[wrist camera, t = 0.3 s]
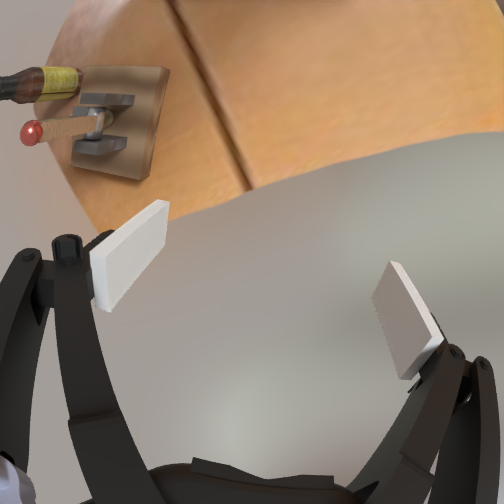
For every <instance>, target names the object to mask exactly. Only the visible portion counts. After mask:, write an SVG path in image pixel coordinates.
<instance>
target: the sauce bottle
mask: <svg viewBox="0 0 504 504" xmlns="http://www.w3.org/2000/svg"><path fill="white" fill-rule="evenodd" d="M82 79H83V74H82V72H81V71H80V70H79V69H76V68H72V67H31V68H28V69H26V70H23V71H21V72H19V73H16V74H14V75H11V76H5V77H0V100H9V99H11V100H12V101H14V102H16V103H18V104H25V103H34V102H42V101H49V100H59V99H67V98H71V97H73V96H75V95H76V94H77V93H78V92H79V91H80V89H81V84H82Z"/></svg>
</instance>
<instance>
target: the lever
mask: <svg viewBox="0 0 504 504" xmlns="http://www.w3.org/2000/svg"><path fill="white" fill-rule="evenodd" d="M106 108H107V107H84V106H80V107H74V108H73V114H72V116H68V117H60V118H52V119H46V120H39V121H37V120H30V121H28V122H27V123H25V124H24V126H23V127H22V129H21V132H20V139H21V141H22V143H23V144H24V145H26V146H33V145H36V144H37V143H42V142H46V141H50V140H55V139H59V138H64V137H69V136H73V135H79V134H84V135H83V138H84V139H101V138H102V134H103V127H104V120H105V114H106Z"/></svg>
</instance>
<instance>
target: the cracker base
mask: <svg viewBox="0 0 504 504" xmlns="http://www.w3.org/2000/svg"><path fill="white" fill-rule="evenodd" d="M169 73H170V70H169V69H166V68H163V67H157V66H133V65H107V66H85V70H84V74H83V79H82V84H81V89H80V94H79V100H78V106H77V107H80V106H84V107H107V108H106V114H105V120H104V127H103V134H102V138H101V139H84V138H83V135H84V134H79V135H74V137H73V147H72V161H71V166H74V167H79V168H85V169H90V170H95V171H100V172H104V173H109V174H114V175H119V176H123V177H128V178H133V179H137V180H141V179H143V178H145V177H147V176H150V169H151V162H152V155H153V149H154V143H155V138H156V132H157V127H158V122H159V117H160V112H161V107H162V102H163V98H164V94H165V89H166V85H167V81H168V77H169Z"/></svg>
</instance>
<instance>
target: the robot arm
mask: <svg viewBox="0 0 504 504" xmlns="http://www.w3.org/2000/svg"><path fill="white" fill-rule="evenodd" d="M169 203H170V202H167V201H163V200H159V199H157V200H156V201H154V202H153V203H152V204H150V205H149V206H147V207H146V208H145V209H143V210H142V211H141V212H139V213H138V214H137V215H135V216H134V217H133V218H131V219H130V220H129V221H127V222H126V223H125V224H123V225H122V226H121V227H120V228H118V229H117V230H116V231H115V230H108V231H105V232H103V233H101V234H100V235H99V236H97V237H96V238H95V239H93V240H92V241H91V242H90V243H88V244H87V245H86V246H85V247H83V245H82V239H81V237H79V236H78V235H74V234H65V235H61V236H58V237H56V238H55V239H54V240H53V241H52V251H53V258H54V261H50V260H42V256H41V252H40V250H38V249H35V248H26V249H23V250H22V251H20V252H18V253H17V255H16V256H15V258H14V259H13V261H12V263H11V264H10V266H9V268H8V270H7V272H6V273H5V275H4V277H3V279H2V281H1V283H0V504H36V503H35V498H36V494H35V489H34V486H33V483H32V481H31V480H30V478H29V477H28V476H27V474H26V473H27V466H28V459H29V457H28V456H29V434H30V416H31V405H32V396H33V388H34V381H35V374H36V368H37V362H38V357H39V351H40V346H41V342H42V338H43V334H44V329H45V325H46V321H47V317H48V314H49V310H50V308H54V312H55V326H56V338H57V347H58V356H59V363H60V370H61V376H62V382H63V387H64V393H65V397H66V402H67V407H68V411H69V416H70V419H69V420H68V427H69V431H70V435H71V439H72V442H73V446H74V449H75V452H76V455H77V458H78V461H79V464H80V467H81V470H82V472H83V475H84V478H85V481H86V483H87V485H88V488H89V490H90V493H91V495H92V499H90V500H87V501H85V502H82V503H80V504H423V503H424V501H425V499H426V497H427V495H428V493H429V491H430V489H431V487H432V489H431V493H430V497H429V501H428V504H497V497H498V488H499V476H500V424H499V411H498V401H497V393H496V386H495V379H494V373H493V369H492V366H491V364H490V362H489V361H488V360H487V359H485V358H484V357H482V356H478V357H477V358H476V359H475V360H474V361H473V362H469V361H467V360H466V358H465V355H464V353H463V351H462V350H461V349H460V348H459V347H458V346H456V345H454V344H449V343H448V341H447V339H446V338H445V336H444V334H443V332H442V330H441V329H440V326H439V324H437V321H436V319H435V317H434V316H433V315H432V313H431V312H430V311H429V310H428V308H427V307H426V305H425V303H424V302H423V300H422V298H421V297H420V295H419V293H418V292H417V290H416V288H415V287H414V285H413V283H412V282H411V280H410V279H409V277H408V275H407V274H406V272H405V271H404V269H403V268H402V266H401V265H400V263H397V262H393V261H390V260H389V263H388V265H387V267H386V269H385V271H384V273H383V275H382V277H381V279H380V281H379V283H378V285H377V287H376V289H375V291H374V293H373V295H372V296H371V299H372V301H373V304H374V307H375V309H376V312H377V314H378V317H379V320H380V323H381V326H382V328H383V331H384V334H385V337H386V340H387V342H388V346H389V349H390V352H391V355H392V358H393V361H394V364H395V367H396V371H397V374H398V377H399V379H403V380H404V379H405V380H411V379H412V378H413V377H414V376H415V375H416V374H417V373H418V371H419V374H420V377H421V378H420V379H419V380H418V381H417V382H416V383H415V384H414V385H413V386H412V388H411V389H410V390H409V391H408V393H410V392H411V393H410V395H409V397H408V399H407V401H406V403H405V405H404V406H403V408H402V410H401V411H400V413H399V415H398V417H397V418H396V420H395V422H394V423H393V425H392V427H391V428H390V430H389V431H388V433H387V434H386V436H385V438H384V439H383V441H382V442H381V444H380V445H379V447H378V448H377V450H376V451H375V453H374V454H373V455H372V457H371V458H370V460H369V461H368V462H367V464H366V465H365V466H364V468H363V469H362V470H361V471H360V473H359V474H358V475H357V477H356V478H355V479H354V480H353V481H352V482H351V483H350V484H349V485H348V486H347V487H346V488H345V487H342V486H340V485H338V484H335V483H334V476H323V475H297V476H291V477H284V478H276V479H263V478H260V477H257V476H254V475H252V474H249V473H246V472H244V471H242V470H239V469H237V468H234V467H232V466H230V465H225V464H220V463H216V462H211V461H207V460H202V459H199V458H195V457H193V459H192V463H191V464H188V463H187V464H186V463H179V464H169V465H164V466H160V467H156V468H154V469H151V470H149V471H148V470H147V468H146V466H145V464H144V462H143V460H142V458H141V456H140V454H139V452H138V449H137V447H136V445H135V443H134V441H133V438H132V436H131V434H130V431H129V429H128V426H127V424H126V421H125V419H124V416H123V414H122V412H121V410H120V408H119V405H118V402H117V400H116V396H115V394H114V391H113V388H112V385H111V382H110V378H109V375H108V372H107V368H106V365H105V362H104V358H103V355H102V351H101V347H100V343H99V339H98V335H97V331H96V327H95V322H94V318H93V313H92V308H91V302H90V301H91V299H93V297H94V299H95V306H96V307H97V308H99V309H102V310H104V311H107V312H109V313H110V312H111V311H112V310H113V308H114V307H115V306H116V304H117V303H118V302H119V301H120V299H121V298H122V297H123V295H124V294H125V293H126V292H127V290H128V289H129V288H130V287H131V285H132V284H133V283H134V282H135V280H136V279H137V278H138V277H139V275H140V274H141V273H142V272H143V270H144V269H145V268H146V267H147V266H148V264H149V263H150V262H151V261H152V260H153V258H154V257H155V256H156V255H157V254H158V253H159V251H160V250H161V249H162V248H163V247H164V245H165V239H166V230H167V220H168V211H169ZM469 398H470V399H469ZM468 399H469V401H468V402H467V400H468ZM439 448H440V449H439ZM438 451H439V455H438V461H437V466H436V471H435V476H434V475H433V474H431V473H430V469H431V467H432V464H433V462H434V460H435V458H436V455H437V453H438Z"/></svg>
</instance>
